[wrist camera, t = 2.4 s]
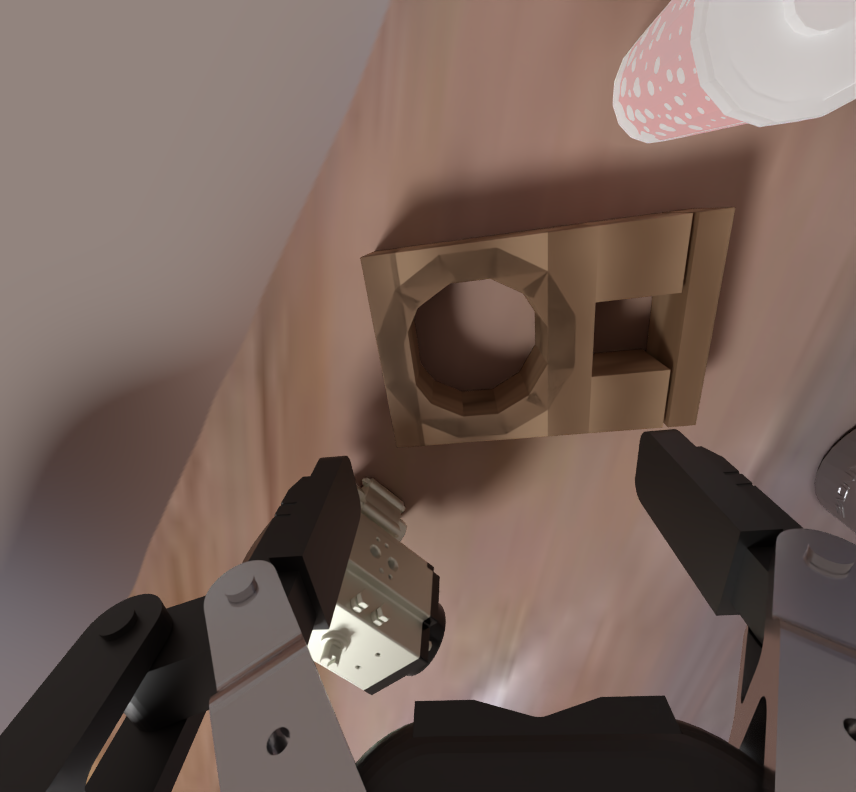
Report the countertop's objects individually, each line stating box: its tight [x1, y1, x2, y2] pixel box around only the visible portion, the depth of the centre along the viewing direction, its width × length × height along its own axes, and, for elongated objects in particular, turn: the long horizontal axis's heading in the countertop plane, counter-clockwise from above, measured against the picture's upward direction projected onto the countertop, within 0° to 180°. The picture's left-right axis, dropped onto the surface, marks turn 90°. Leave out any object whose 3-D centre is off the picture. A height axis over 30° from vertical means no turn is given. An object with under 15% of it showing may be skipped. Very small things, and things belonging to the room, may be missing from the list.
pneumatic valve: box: [242, 477, 446, 695], centre depth 24 cm, size 6×12×12 cm, turn 46°
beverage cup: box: [613, 0, 856, 143], centre depth 12 cm, size 6×6×14 cm
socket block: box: [360, 207, 735, 448], centre depth 22 cm, size 17×11×4 cm, turn 97°
